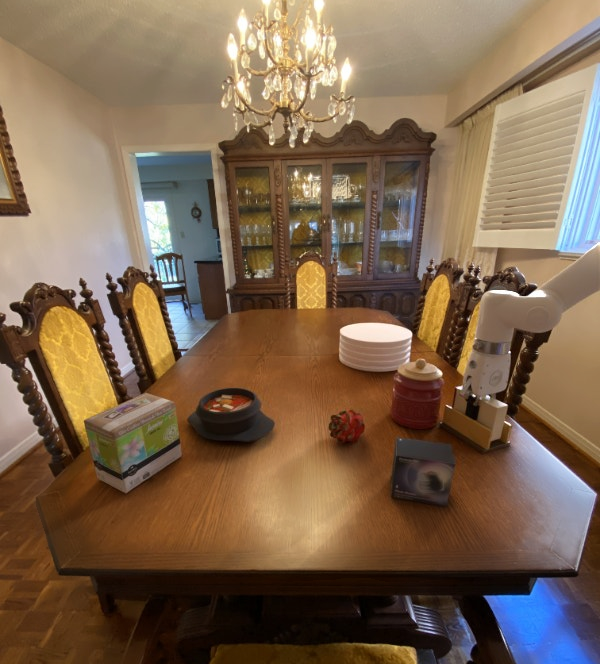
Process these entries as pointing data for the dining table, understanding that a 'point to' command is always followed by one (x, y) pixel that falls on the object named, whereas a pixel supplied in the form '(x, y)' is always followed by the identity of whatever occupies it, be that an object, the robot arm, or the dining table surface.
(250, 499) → the dining table surface
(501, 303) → the robot arm
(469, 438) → the rack
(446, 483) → the small box
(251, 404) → the casserole
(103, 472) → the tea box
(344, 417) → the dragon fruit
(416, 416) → the kitchen canister
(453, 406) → the book
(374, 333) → the plate stack
